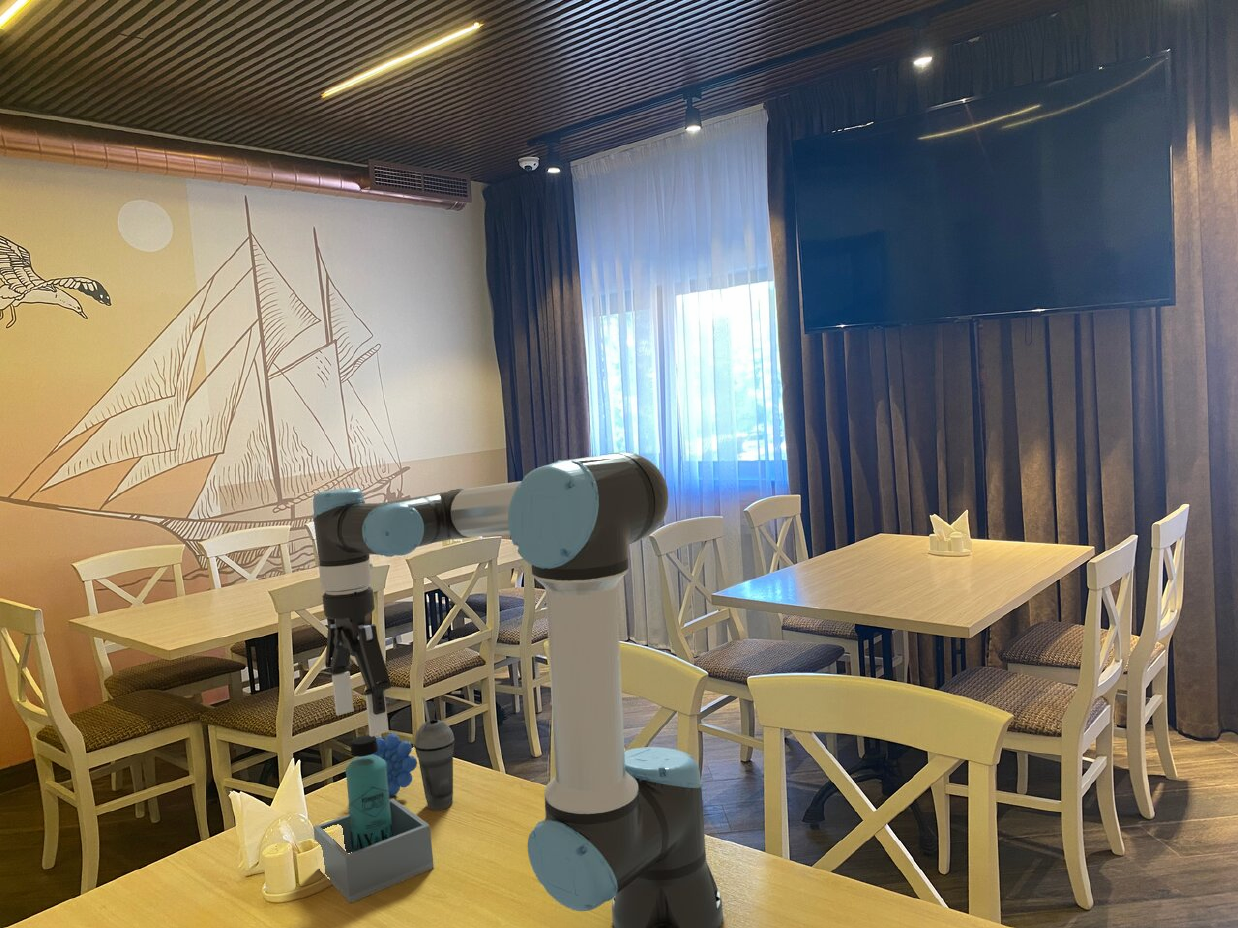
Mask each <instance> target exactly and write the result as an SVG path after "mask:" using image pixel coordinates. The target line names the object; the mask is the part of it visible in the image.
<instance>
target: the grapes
mask: <svg viewBox="0 0 1238 928" xmlns="http://www.w3.org/2000/svg"><path fill="white" fill-rule="evenodd" d="M375 737H376V740H377V745H378V751H377V752H375V753H373V754H371V755H377V756H379V757H381V758H382V759H384V760H385V761H386V770H387V781H388V791H389V792H390V793H389V794H390V795H389V797H390V796H391V797H393V796H396V795H397V794H398V793H399V792H400V790H401V788H406V787H409V786H410V785H411V784H412V782H413V775H412V772H413V771H415V770H416V768H417V766H418V761H417V758H416V756H414V755H410V754H411V753H412V751H413V746H412V743H411V742H410V741H409V740H408V741H407V740H402V741H400V737H399V735H397V734H396V733H389V734H387V735H386V736H385V738H383V737H379V736H375Z"/></svg>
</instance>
